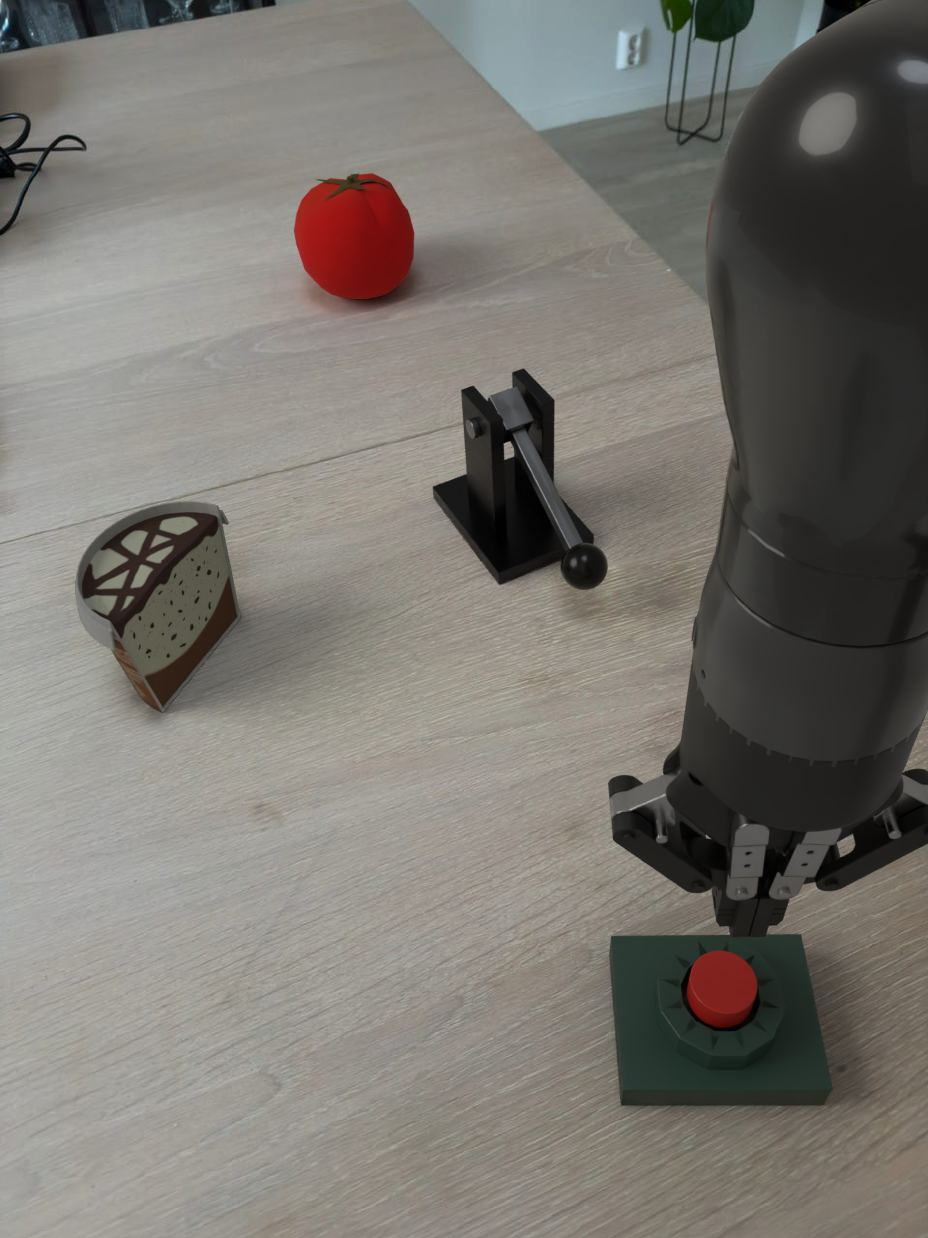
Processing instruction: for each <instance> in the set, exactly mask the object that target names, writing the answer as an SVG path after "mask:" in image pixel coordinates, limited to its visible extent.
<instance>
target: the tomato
mask: <svg viewBox="0 0 928 1238" xmlns="http://www.w3.org/2000/svg"><path fill="white" fill-rule="evenodd" d="M314 180H315V181H320V183H318V184H317V185H315V186H313V187H311V188H310V189H309V190H308V191H307V193H305V194H304V196H303V197H302V198H301V200H300V203H299V205H298V208H297V210H296V213H295V219H294V227H293V235H294V240H295V245H296V248H297V251H298V254H299V258H300V260H301V263H302V266H303V269H304V271H305V272H306V274H308V275H309V277H310V278H311V279H312V280H313V281H314V282H315V284H317V285H318V286H319V287H320V288H321V289H322V290H323V291H326V292H327V293H329V294H330V295H332V296H335V297H339V298H342V299H349V300H369V299H372V298H378V297H382V296H387V295H388V294H389V293H391V292H392V291H394V289H395V288H397V287H398V286H399V285H401V284H402V283H403V282H404V281H405V279H406V278H407V276H408V275H409V273H410V269H411V267H412V263H413V261H414V256H415V255H414V254H415V253H414V252H415V230H414V225H413V221H412V218H411V215H410V212H409V209H408V208H407V207H406V206H405V204H404V203H403V200H402V199H401V196H399V194H398V192H397V190H396V189H395V187H394V186H393V184H392V183H391V182H390V181H389V180H387V179H385V178H384V177H382V176H380V175H378V174H375V173H373V172H370V173H360V172H358V173H352V174H350V175H348V176H346V178H345V179H344V178H335V177H329V178H327V179H323V178H322V179H321V178H316V179H314Z"/></svg>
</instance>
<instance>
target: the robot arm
mask: <svg viewBox="0 0 928 1238" xmlns="http://www.w3.org/2000/svg"><path fill="white" fill-rule="evenodd" d="M751 95H752V96H751V97H750V98H749V100H748V102H747V103H746V105H745V107H744V109H743V110H742V112H741V113H740V115H739V117H738V118H737V121H736V123H735V126H734V127H733V130H732V132H731V135H730V137H729V140H728V142H727V144H726V147H725V150H724V153H723V155H722V159H721V162H720V165H719V167H718V171H717V175H716V179H715V182H714V186H713V190H712V195H711V199H710V204H709V209H708V214H707V219H706V231H705V232H706V233H705V234H706V235H705V245H704V274H705V286H706V296H707V303H708V309H709V315H710V322H711V329H712V336H713V342H714V343H713V344H714V349H715V355H716V362H717V369H718V376H719V384H720V392H721V396H722V402H723V405H724V411H725V415H726V418H727V423H728V427H729V431H730V435H731V439H732V442H733V443H732V447H731V451H730V455H729V460H728V466H727V469H726V470H727V471H726V472H727V473H726V477H725V484H724V492H723V500H722V505H721V512H720V518H719V525H718V532H717V538H716V539H717V541H716V545H715V550H714V554H713V557H712V559H711V561H710V565H709V568H708V570H707V575H706V577H705V580H704V584H703V587H702V591H701V596H700V601H699V608H698V611H697V613H696V616H695V617H694V619H693V624H692V631H691V639H690V641H691V642H692V649H693V650H692V656H691V664H690V672H689V677H688V678H689V679H688V685H687V693H686V699H685V706H684V707H685V708H684V714H683V721H682V729H681V737H680V741H679V743H678V744H677V746H676V747H675V748H674V749H673V750H671V752H669V753H668V755H667V756H666V757H665V759H664V761H663V765H662V772H663V775H660V776H657V777H655V778H653V779H651V780H649V781H646V782H642V781H641V780H639V778H637V777H635V776H633V775H629V774H620V775H616V776H613V777H612V778H611V779H609V780H608V782H607V788H608V789H607V790H608V797H609V798H608V799H609V812H610V813H609V814H610V823H611V833H612V840H613V842H614V843H616V844H617V845H619V846H620V847H621V848H623V849H624V850H625V851H627V852H628V853H630V854H631V855H633V856H634V857H636V858H638V860H640V861H641V862H643V863H644V864H646V865H648V866H649V867H650V868H652V869H653V870H655V871H656V872H657V873H659V874H660V875H662V876H663V877H664V878H666V879H668V880H669V881H671V882H672V883H674V885H677V886H678V887H680V889H682V890H684V891H685V892H687V893H690V894H703V893H706V892H708V891H711V897H712V904H713V911H714V917H715V922H716V923H717V925H718V927H723V928H724V927H728V932H729V935H730V936H731V937H766V934H768V930H769V928H770V927H774V926H775V927H776V926H778V925H779V924H781V922H783V921H784V918H785V915H786V912H787V908H788V905H789V903H790V899H794V898H795V897H797V896H798V895H799V894H800V892H801V890H802V887H803V886H804V885H808V884H814V883H815V886H816V888H817V889H818V890H820V891H821V892H822V891H823V892H836V891H839V890H842V889H843V888H846V887H847V886H849V885H852V884H854V883H855V882H857V881H859V880H861V879H863V878H865V877H867V876H868V875H870V874H873V873H875V872H876V871H878V870H880V869H882V868H884V867H886V866H888V865H890V864H892V863H894V862H896V861H897V860H900V859H901V858H904V857H906V856H907V855H909V854H911V853H913V852H915V851H917V850H919V849H921V848H923V847H924V846H927V845H928V770H927V769H925V768H911V769H908V770H905V768H906V766H907V764H908V760H909V758H910V755H911V754H912V750H913V749H914V746H915V743H916V741H917V739H918V736H919V733H920V731H921V728H922V726H923V723H924V722H925V718H926V716H927V713H928V0H870V1H868V2H867V3H865V4H863V5H862V6H860V7H858V8H857V9H856V10H854V11H852V12H851V13H848V14H846V15H845V16H843V17H841V18H840V19H838V20H836V21H835V22H833V23H831V24H830V25H828V26H827V27H825V28H823V29H821V30H820V31H819V32H817V33H816V34H814V35H812V36H811V37H810V38H808V39H807V40H805V41H804V42H803V43H801V44H800V45H799V46H796V48H794V49H793V50H792V51H791V52H790V53H788V54H787V55H786V56H785V57H784V58H783V59H782V60H781V61H779V63H778V64H777V65H776V66H775V67H773V69H772V70H771V71H770V72H769V73H768V75H767V76H765V78H764V79H763V80H762V82H761V83H760V84H759V85H758V86H757V88H756V89H755V90H754V92H753V94H751ZM850 836H852V837H853V841H854V847H853V849H852V850H851V851H849V852H848V853H846V854H844V855H842V856H841V853H840V849H839V846H838V843H840V842H841V841H842V840H845V839H846V838H848V837H850ZM707 837H708V838H707Z"/></svg>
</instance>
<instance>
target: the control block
mask: <svg viewBox="0 0 928 1238" xmlns="http://www.w3.org/2000/svg"><path fill="white" fill-rule="evenodd" d="M802 937H803V936H802V934H801V933H779V934H778V933H773V934H770V933H769V934H768V933H767V934H766V937H731V936H730V934H674V935H673V934H670V935H667V934H665V935H663V934H661V935H660V934H659V935H657V934H655V935H653V934H652V935H649V934H648V935H611V936H610V942H609V953H608V956H609V957H608V958H609V969H610V982H611V983H610V984H611V994H612V1009H613V1022H614V1023H613V1024H614V1034H615V1035H614V1036H615V1048H616V1049H615V1050H616V1060H617V1061H616V1062H617V1076H618V1086H619V1099H620V1100H619V1101H620V1105H621V1106H824V1105H826V1103H827V1101H828V1099H829V1097H830V1096H831V1093H832V1091H833V1089H834V1088H833V1083H832V1079H831V1074H830V1069H829V1064H828V1059H827V1053H826V1049H825V1043H824V1041H823V1034H822V1029H821V1025H820V1019H819V1015H818V1014H819V1013H818V1009H817V1004H816V999H815V995H814V990H813V985H812V980H811V975H810V970H809V966H808V961H807V957H806V951H805V946H804V941H803V938H802ZM712 951H727V952H731V953H733V954H736V955H738V956H739V957H741V958H742V959H744V960H745V961H746V962H747V963H748V964H749V965H750V967H751V968H752V970H753V972H754V973H755V976H756V979H757V994H756V997H755V1000H754V1003H753V1006H752V1009H751V1012H750V1014H749V1015H748V1017H747V1018H746V1019H745V1020H744V1021H743V1022H742V1023H740V1024H738V1025H736V1026H733V1027H729V1028H719V1027H714V1026H711V1025H709V1024H707V1023H705V1022H704V1021H702V1020H701V1019H700V1018H698V1017H697V1016H696V1014H695V1013H694V1012H693V1010H692V1009H691V1007H690V1005H689V1002H688V998H687V987H688V982H689V978H690V973H691V969H692V967H693V965H694V963H695V962H696V961H697V960H698V959H699V958H700V957H701V956H702V955H704V954H706V953H709V952H712Z"/></svg>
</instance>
